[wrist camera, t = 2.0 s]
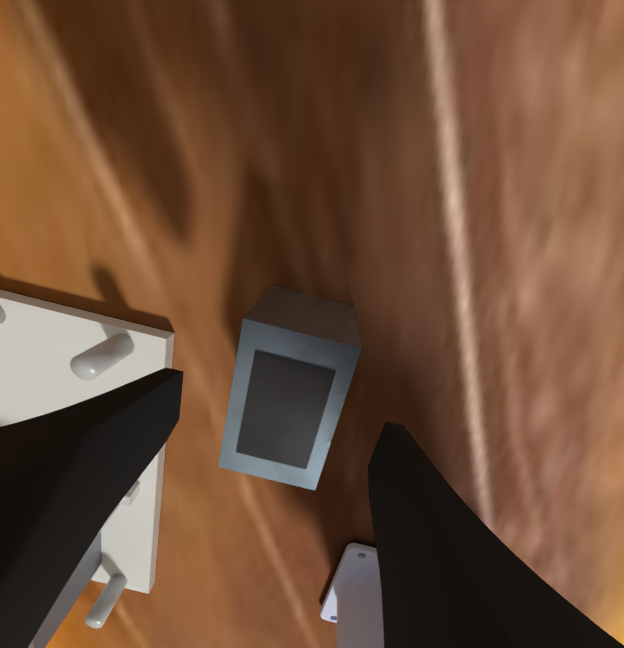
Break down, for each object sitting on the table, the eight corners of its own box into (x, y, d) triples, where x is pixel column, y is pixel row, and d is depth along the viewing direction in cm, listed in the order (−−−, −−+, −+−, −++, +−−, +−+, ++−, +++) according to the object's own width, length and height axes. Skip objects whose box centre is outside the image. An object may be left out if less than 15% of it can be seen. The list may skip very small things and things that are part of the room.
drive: (353, 304, 15) (362, 349, 10) (321, 413, 17) (315, 492, 12) (272, 284, 15) (242, 319, 10) (251, 396, 17) (217, 468, 12)
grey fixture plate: (174, 333, 16) (86, 398, 10) (154, 581, 23) (97, 697, 18) (-34, 281, 16) (-237, 318, 10) (12, 547, 23) (-90, 652, 17)
